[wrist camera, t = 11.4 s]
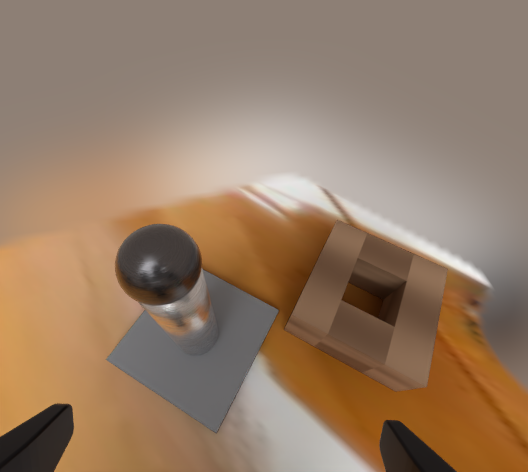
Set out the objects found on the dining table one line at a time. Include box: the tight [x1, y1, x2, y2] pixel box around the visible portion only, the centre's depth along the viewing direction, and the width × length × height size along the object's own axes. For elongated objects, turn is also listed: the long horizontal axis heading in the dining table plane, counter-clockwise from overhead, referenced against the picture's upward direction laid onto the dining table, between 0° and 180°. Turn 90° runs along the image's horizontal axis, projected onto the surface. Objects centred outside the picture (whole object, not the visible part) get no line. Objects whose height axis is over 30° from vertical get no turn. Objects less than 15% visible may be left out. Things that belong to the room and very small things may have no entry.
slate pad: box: [106, 269, 279, 433], centre depth 21 cm, size 9×9×1 cm
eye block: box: [284, 220, 448, 391], centre depth 22 cm, size 9×9×4 cm
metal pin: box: [115, 224, 218, 356], centre depth 15 cm, size 3×3×13 cm
